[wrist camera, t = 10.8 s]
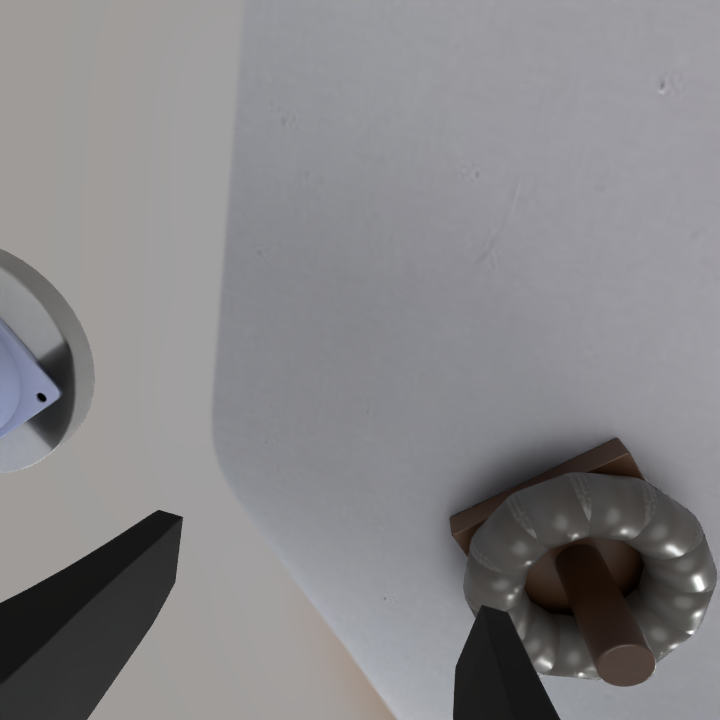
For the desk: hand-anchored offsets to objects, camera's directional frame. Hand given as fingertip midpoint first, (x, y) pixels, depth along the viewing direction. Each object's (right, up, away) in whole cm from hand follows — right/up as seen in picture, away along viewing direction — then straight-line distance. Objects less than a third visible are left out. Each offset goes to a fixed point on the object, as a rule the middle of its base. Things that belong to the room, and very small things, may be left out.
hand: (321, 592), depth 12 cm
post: (+10, -3, +12) cm, 16 cm away
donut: (+10, -4, +9) cm, 14 cm away
